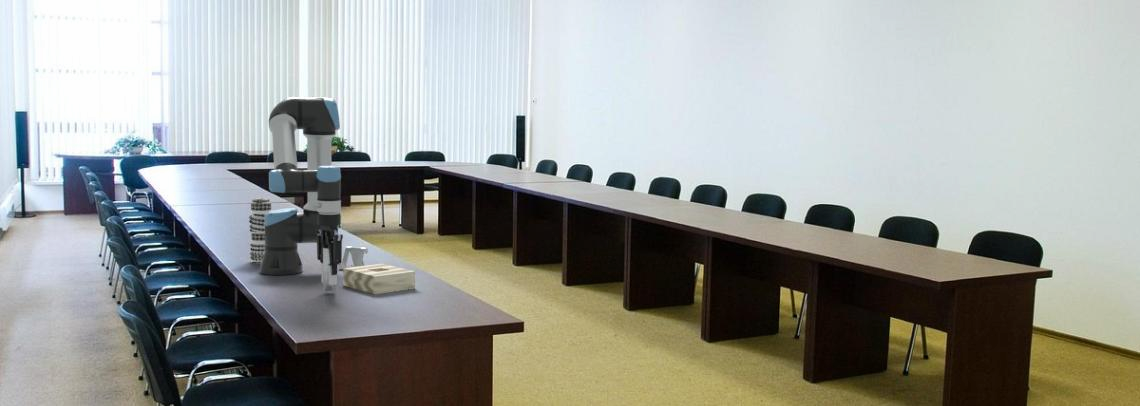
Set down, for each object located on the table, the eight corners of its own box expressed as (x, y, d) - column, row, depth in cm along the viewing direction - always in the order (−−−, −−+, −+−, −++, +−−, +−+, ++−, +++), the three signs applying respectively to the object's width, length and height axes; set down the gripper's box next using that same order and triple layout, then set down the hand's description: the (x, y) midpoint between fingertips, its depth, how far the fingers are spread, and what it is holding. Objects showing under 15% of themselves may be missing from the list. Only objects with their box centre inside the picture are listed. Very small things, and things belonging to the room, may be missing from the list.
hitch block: (343, 285, 329) (343, 268, 328) (382, 280, 340) (382, 263, 340) (374, 294, 315) (374, 276, 314) (414, 288, 326) (415, 271, 325)
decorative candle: (279, 261, 376) (278, 198, 374) (260, 264, 368) (259, 200, 366) (263, 258, 381) (262, 196, 379) (244, 261, 373) (243, 198, 371)
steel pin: (320, 289, 314) (320, 247, 313) (331, 287, 317) (331, 246, 316) (327, 291, 312) (326, 249, 310) (337, 289, 314) (337, 247, 313)
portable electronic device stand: (338, 270, 359) (338, 248, 359) (350, 267, 367) (350, 245, 366) (357, 272, 356) (357, 249, 355) (369, 268, 364) (369, 247, 363)
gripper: (305, 211, 315) (306, 280, 318) (332, 216, 303) (332, 288, 306) (326, 209, 320) (326, 278, 323) (352, 215, 308) (353, 286, 311)
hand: (329, 283), depth 314 cm, fingers closed on steel pin, 4 cm apart
